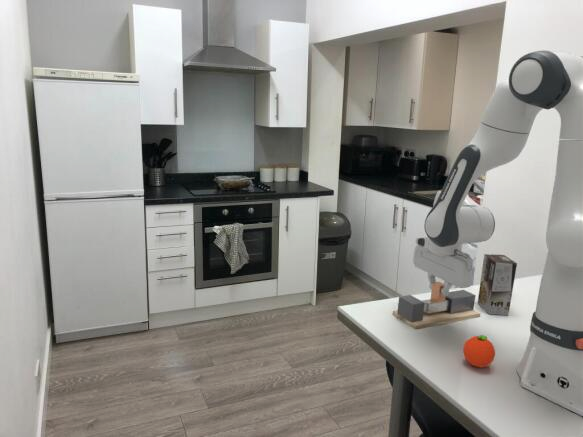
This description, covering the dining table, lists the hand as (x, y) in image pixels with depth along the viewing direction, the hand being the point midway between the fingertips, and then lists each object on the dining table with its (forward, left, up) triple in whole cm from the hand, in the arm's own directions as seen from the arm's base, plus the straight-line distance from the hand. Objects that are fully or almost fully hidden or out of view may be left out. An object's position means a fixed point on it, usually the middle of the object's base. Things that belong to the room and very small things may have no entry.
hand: (438, 291), depth 135 cm
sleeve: (0, -8, -6) cm, 10 cm away
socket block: (0, +10, -6) cm, 11 cm away
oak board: (0, 0, -7) cm, 7 cm away
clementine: (-25, +10, -8) cm, 28 cm away
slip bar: (0, -3, -5) cm, 6 cm away
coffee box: (-2, -21, -8) cm, 22 cm away
